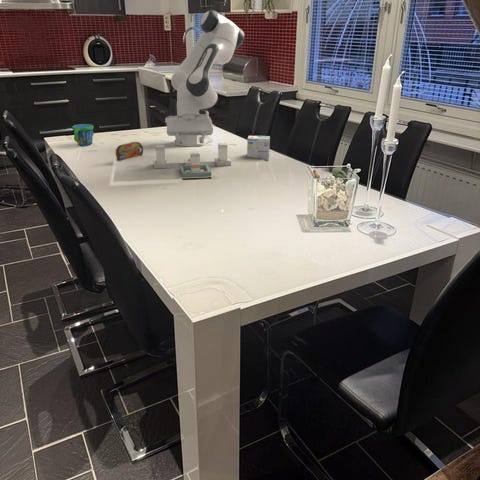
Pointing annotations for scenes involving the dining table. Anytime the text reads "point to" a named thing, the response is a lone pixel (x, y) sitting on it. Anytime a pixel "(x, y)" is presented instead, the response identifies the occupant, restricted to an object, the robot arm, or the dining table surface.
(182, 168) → the tray
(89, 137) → the snack cup
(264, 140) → the light bulb box
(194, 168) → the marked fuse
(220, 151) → the block
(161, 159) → the block
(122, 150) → the tin
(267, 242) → the dining table surface
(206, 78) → the robot arm
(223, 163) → the board
